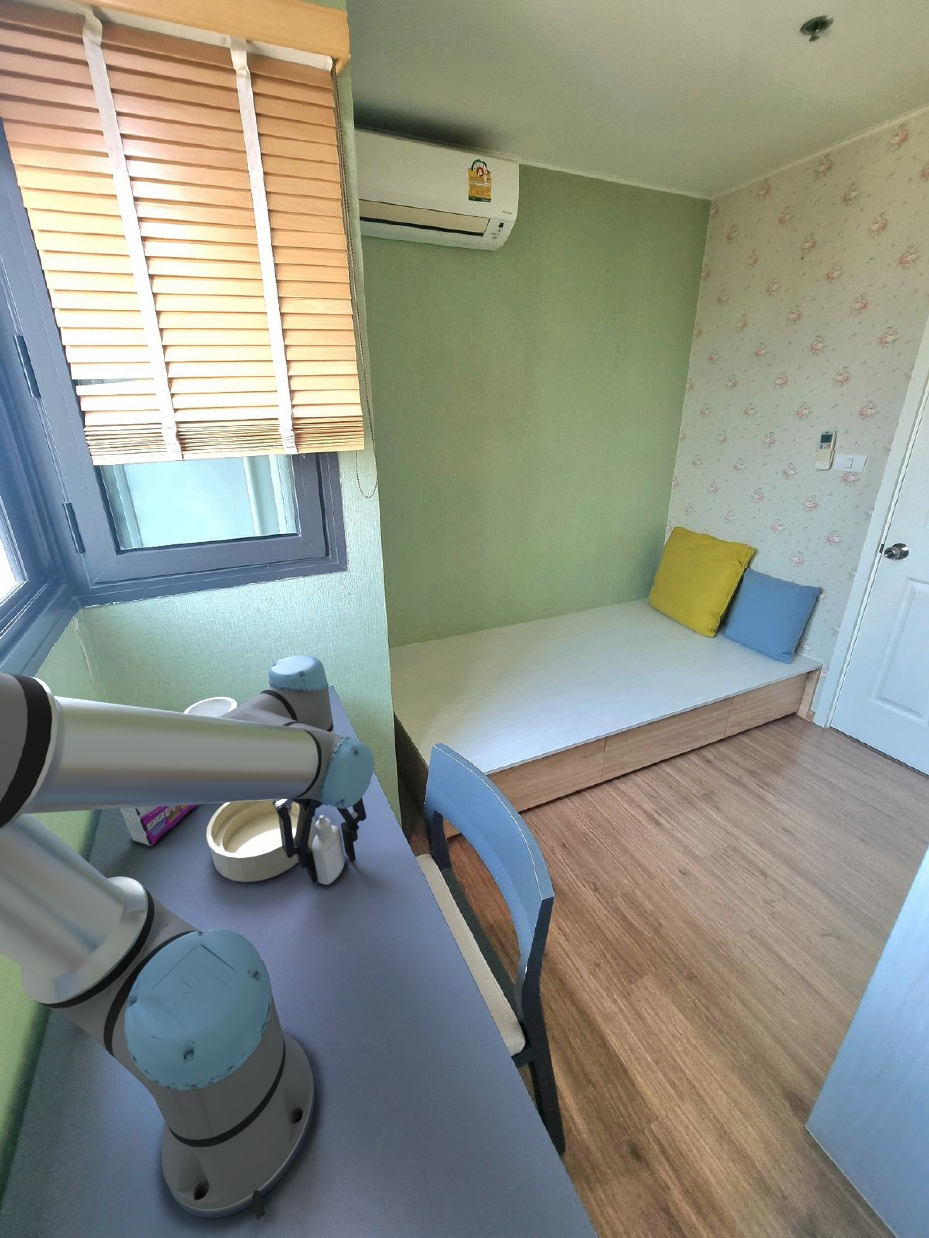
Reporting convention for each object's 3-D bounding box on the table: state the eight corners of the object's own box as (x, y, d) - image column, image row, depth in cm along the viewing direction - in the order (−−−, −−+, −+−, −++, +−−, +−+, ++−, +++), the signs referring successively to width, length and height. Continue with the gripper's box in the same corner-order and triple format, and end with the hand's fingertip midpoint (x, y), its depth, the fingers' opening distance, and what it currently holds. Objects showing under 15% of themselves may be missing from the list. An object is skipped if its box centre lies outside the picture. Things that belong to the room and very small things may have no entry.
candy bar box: (179, 799, 103) (157, 731, 97) (198, 805, 102) (178, 736, 96) (130, 841, 94) (102, 769, 87) (150, 848, 92) (124, 774, 86)
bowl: (332, 849, 91) (328, 823, 88) (228, 903, 81) (219, 876, 79) (297, 794, 104) (293, 770, 102) (204, 835, 94) (196, 810, 92)
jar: (260, 762, 114) (247, 704, 108) (218, 790, 106) (201, 729, 100) (231, 747, 119) (216, 691, 113) (188, 773, 111) (171, 714, 105)
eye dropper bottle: (352, 869, 87) (344, 814, 82) (322, 889, 83) (311, 833, 78) (339, 854, 90) (330, 800, 85) (310, 873, 86) (298, 818, 82)
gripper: (358, 720, 85) (372, 826, 94) (239, 766, 75) (267, 880, 84) (379, 741, 80) (392, 852, 89) (254, 795, 69) (282, 914, 78)
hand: (331, 866), depth 86 cm, fingers open, 6 cm apart
